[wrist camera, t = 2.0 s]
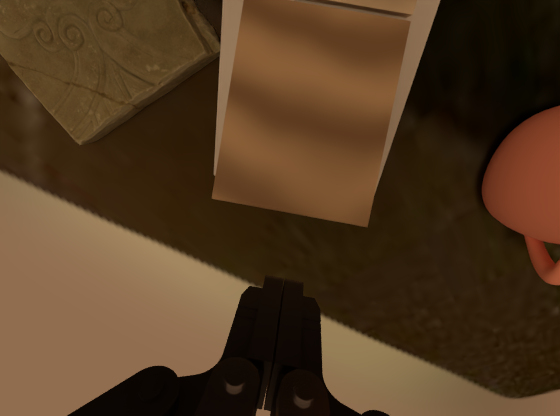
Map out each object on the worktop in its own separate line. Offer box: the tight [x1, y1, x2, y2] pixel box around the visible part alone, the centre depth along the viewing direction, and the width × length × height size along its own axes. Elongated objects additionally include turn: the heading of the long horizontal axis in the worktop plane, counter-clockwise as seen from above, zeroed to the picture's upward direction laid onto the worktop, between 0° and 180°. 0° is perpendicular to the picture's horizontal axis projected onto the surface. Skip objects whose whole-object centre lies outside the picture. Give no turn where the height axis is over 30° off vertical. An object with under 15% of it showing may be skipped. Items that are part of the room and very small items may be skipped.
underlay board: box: [214, 0, 440, 191], centre depth 24 cm, size 22×16×2 cm
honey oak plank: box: [212, 0, 411, 227], centre depth 22 cm, size 15×12×2 cm
